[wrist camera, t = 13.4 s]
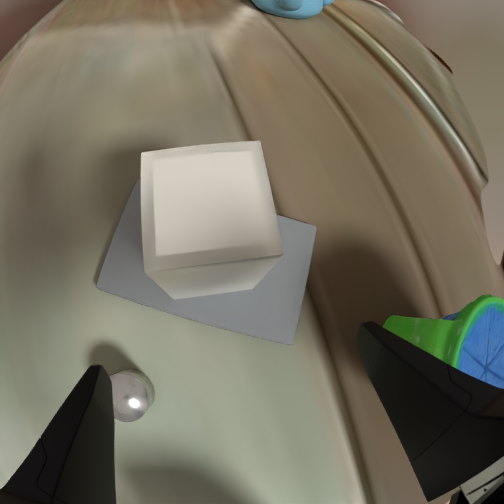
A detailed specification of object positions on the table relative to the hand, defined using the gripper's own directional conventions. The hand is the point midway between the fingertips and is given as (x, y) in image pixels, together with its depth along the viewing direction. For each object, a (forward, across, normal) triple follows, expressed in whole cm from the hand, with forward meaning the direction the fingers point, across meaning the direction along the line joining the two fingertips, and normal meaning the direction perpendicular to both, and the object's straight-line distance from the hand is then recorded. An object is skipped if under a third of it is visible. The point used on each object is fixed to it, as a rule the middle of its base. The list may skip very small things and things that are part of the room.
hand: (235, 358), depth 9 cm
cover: (+14, 0, +4) cm, 14 cm away
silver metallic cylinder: (+7, +8, +11) cm, 16 cm away
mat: (+14, 0, +4) cm, 15 cm away
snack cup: (+5, -17, +14) cm, 23 cm away
